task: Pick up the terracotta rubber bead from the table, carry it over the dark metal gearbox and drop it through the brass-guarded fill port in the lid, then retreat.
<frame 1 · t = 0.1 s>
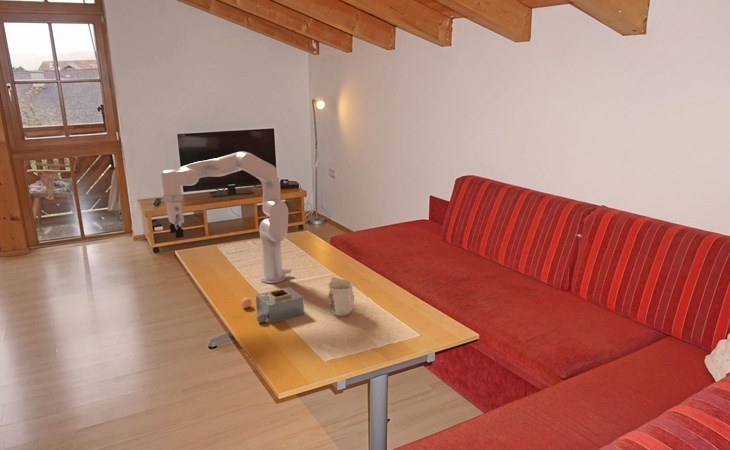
hand: (176, 234, 245), 31 cm above the table, tool pointing down, fingers open, 9 cm apart
pitcher: (342, 314, 235), on the table
bead: (246, 307, 243), on the table
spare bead: (262, 321, 228), on the table, tilted 7°
gearbox: (280, 312, 236), on the table
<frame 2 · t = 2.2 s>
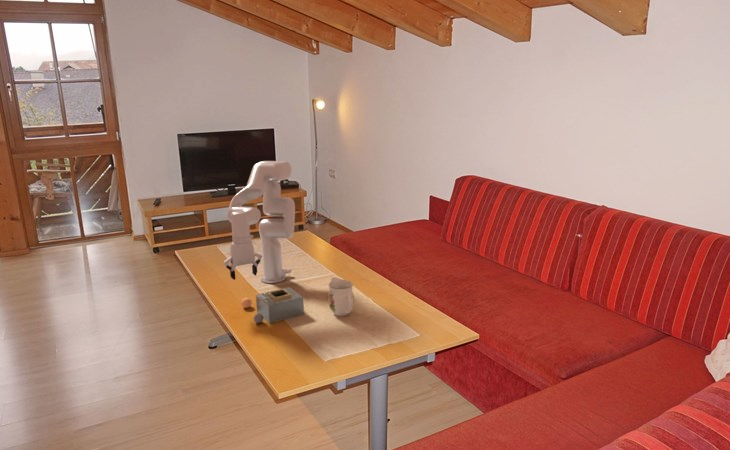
hand: (244, 276, 238), 15 cm above the table, tool pointing down, fingers open, 9 cm apart
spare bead: (262, 320, 228), point 1 cm above the table, tilted 44°
everything else where it was.
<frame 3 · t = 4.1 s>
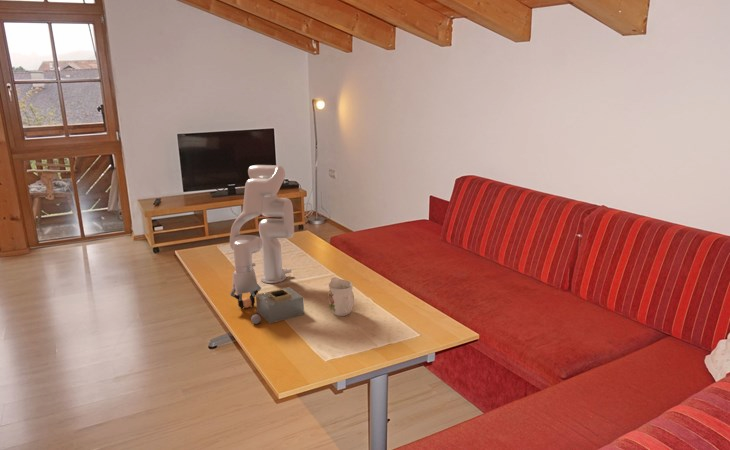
hand: (246, 306, 242), 1 cm above the table, tool pointing down, fingers closed on bead, 4 cm apart
bead: (246, 307, 243), on the table, touching gripper
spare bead: (260, 318, 227), point 2 cm above the table, tilted 78°
everything else where it was.
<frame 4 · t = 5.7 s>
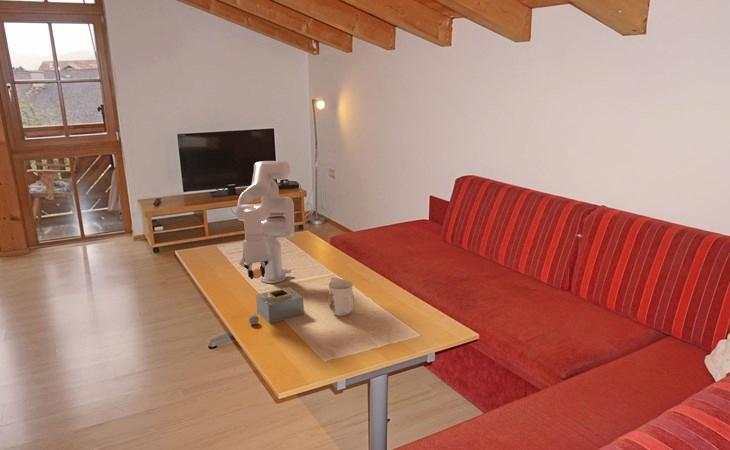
hand: (256, 276, 236), 16 cm above the table, tool pointing down, fingers closed on bead, 4 cm apart
bead: (256, 278, 236), point 15 cm above the table, touching gripper
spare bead: (258, 317, 226), point 3 cm above the table, tilted 106°
everything else where it was.
when the fingers open (10 cm above the table, at t = 7.3 s): bead drops 9 cm, resting on gearbox.
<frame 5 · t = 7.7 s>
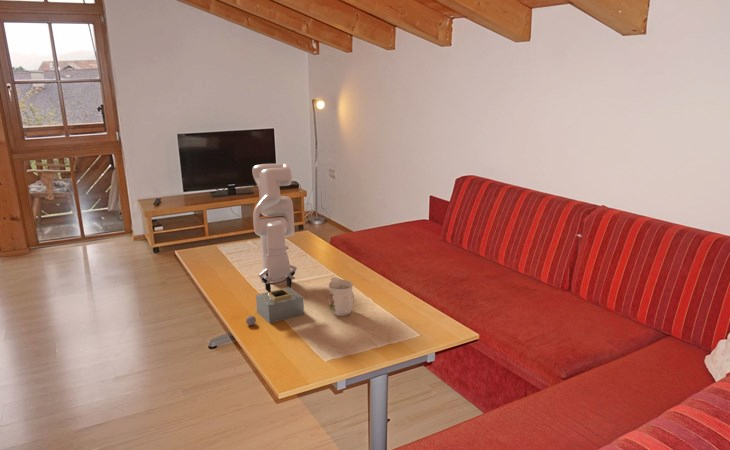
hand: (278, 288, 233), 11 cm above the table, tool pointing down, fingers open, 9 cm apart
bead: (280, 311, 236), point 1 cm above the table, tilted 7°, touching gearbox
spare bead: (253, 316, 225), point 4 cm above the table, tilted 142°
everything else where it was.
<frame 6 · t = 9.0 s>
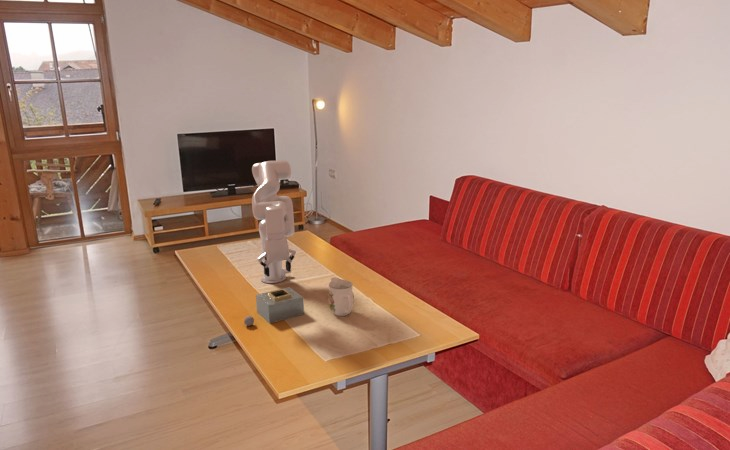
hand: (277, 273, 232), 18 cm above the table, tool pointing down, fingers open, 9 cm apart
bead: (280, 311, 236), point 1 cm above the table, tilted 24°, touching gearbox
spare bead: (250, 316, 224), point 4 cm above the table, tilted 165°
everything else where it was.
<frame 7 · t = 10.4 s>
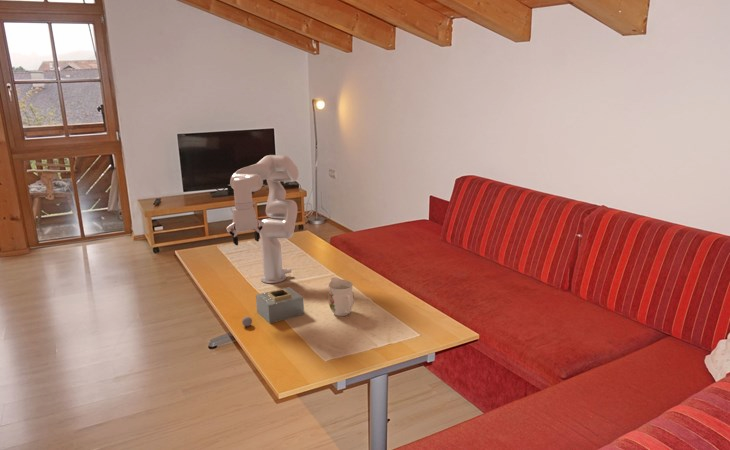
hand: (246, 242, 242), 28 cm above the table, tool pointing down, fingers open, 9 cm apart
bead: (280, 310, 236), point 1 cm above the table, tilted 43°, touching gearbox
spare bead: (246, 317, 223), point 4 cm above the table, tilted 171°
everything else where it was.
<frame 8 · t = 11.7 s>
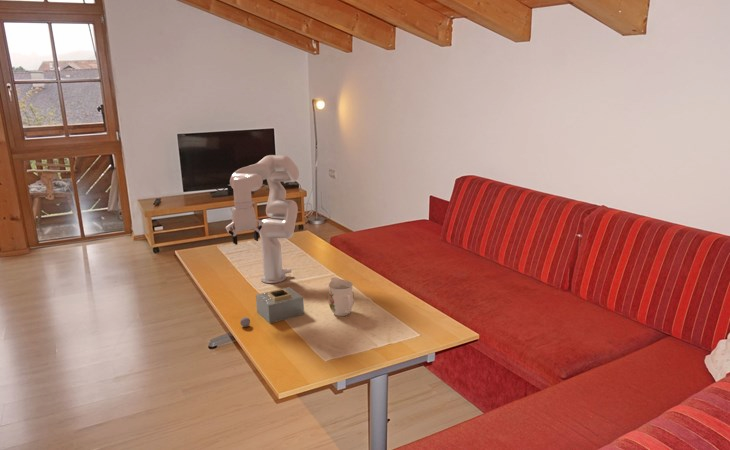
hand: (246, 242, 242), 28 cm above the table, tool pointing down, fingers open, 9 cm apart
bead: (280, 309, 236), point 2 cm above the table, tilted 61°, touching gearbox
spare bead: (242, 318, 223), point 4 cm above the table, tilted 148°
everything else where it was.
at the end: bead inside the target area on the gearbox (0.4 cm from its centre), point 1.8 cm above the gearbox's base; the gripper is holding nothing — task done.
